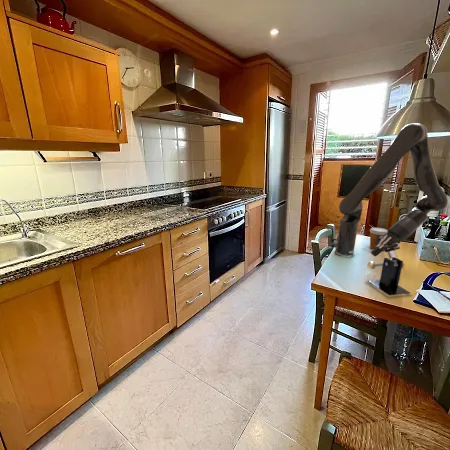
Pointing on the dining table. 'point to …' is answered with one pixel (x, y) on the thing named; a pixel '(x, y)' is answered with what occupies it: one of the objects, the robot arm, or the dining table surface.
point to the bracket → (390, 278)
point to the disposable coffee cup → (374, 233)
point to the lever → (372, 265)
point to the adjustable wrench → (392, 254)
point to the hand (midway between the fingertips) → (372, 254)
